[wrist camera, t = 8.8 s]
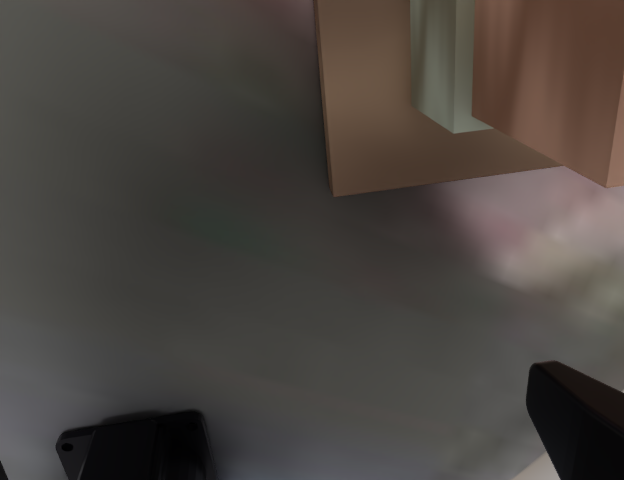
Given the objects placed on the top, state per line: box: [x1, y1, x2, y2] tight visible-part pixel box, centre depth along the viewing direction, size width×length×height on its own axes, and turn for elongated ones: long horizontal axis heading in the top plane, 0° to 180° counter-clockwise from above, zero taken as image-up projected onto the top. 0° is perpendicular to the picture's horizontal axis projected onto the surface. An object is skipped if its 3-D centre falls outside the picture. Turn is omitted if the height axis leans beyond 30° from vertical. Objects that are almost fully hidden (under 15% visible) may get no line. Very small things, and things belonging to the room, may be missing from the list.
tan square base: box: [313, 0, 564, 197], centre depth 16 cm, size 12×12×5 cm
